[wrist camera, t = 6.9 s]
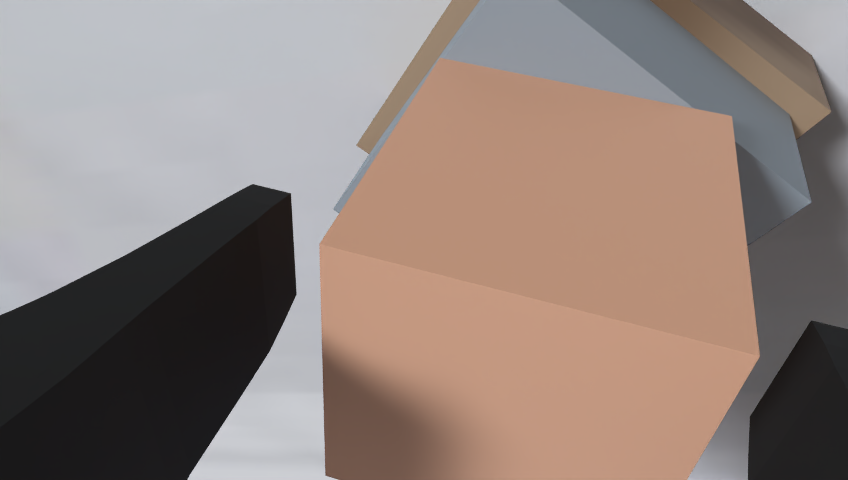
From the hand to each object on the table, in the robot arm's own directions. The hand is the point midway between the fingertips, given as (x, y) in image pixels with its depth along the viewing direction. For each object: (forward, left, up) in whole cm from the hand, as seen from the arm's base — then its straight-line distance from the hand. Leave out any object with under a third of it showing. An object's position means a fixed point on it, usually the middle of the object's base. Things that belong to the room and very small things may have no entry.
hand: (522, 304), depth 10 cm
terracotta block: (0, 0, -3) cm, 3 cm away
